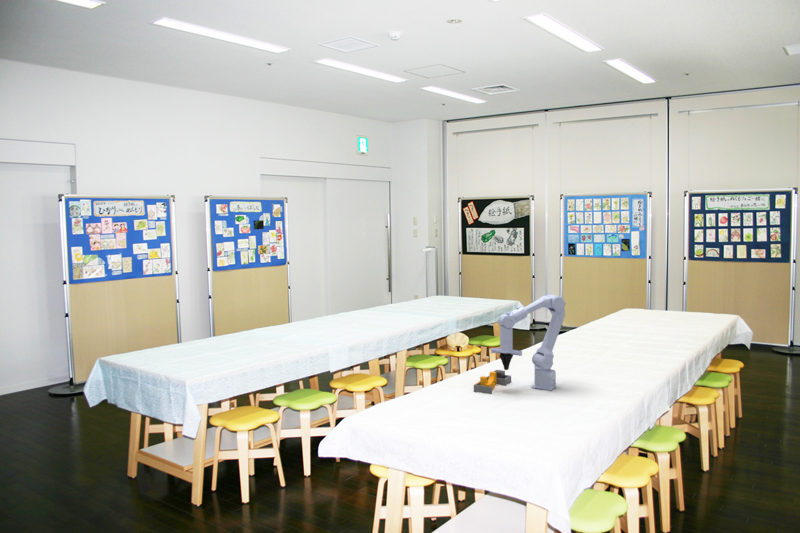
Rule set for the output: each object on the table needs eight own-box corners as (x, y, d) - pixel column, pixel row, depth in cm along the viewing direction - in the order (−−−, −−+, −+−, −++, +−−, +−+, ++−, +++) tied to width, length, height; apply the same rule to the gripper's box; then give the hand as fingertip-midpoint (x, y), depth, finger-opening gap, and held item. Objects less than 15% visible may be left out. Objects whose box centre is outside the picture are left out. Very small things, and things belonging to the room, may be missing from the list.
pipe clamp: (488, 392, 271) (488, 378, 271) (480, 390, 274) (480, 377, 273) (499, 385, 281) (499, 372, 281) (491, 384, 284) (491, 371, 283)
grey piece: (511, 381, 287) (511, 370, 287) (493, 394, 267) (493, 382, 267) (492, 379, 292) (492, 368, 292) (473, 391, 272) (473, 379, 272)
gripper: (488, 340, 271) (488, 369, 272) (518, 343, 264) (518, 373, 265) (493, 338, 277) (494, 366, 278) (523, 340, 270) (523, 369, 271)
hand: (506, 369), depth 272 cm, fingers closed
